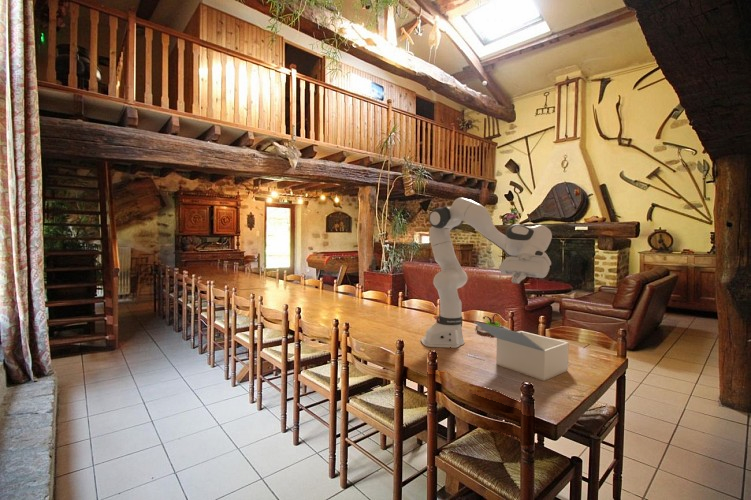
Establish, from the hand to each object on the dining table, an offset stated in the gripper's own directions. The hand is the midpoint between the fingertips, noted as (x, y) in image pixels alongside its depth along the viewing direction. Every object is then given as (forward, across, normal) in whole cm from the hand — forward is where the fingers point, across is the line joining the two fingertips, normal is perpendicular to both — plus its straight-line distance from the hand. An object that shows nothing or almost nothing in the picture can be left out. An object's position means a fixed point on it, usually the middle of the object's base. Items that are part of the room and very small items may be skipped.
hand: (514, 282), depth 145 cm
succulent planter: (-5, -45, +60) cm, 75 cm away
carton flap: (+18, 0, +12) cm, 22 cm away
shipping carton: (+18, 0, +36) cm, 40 cm away
